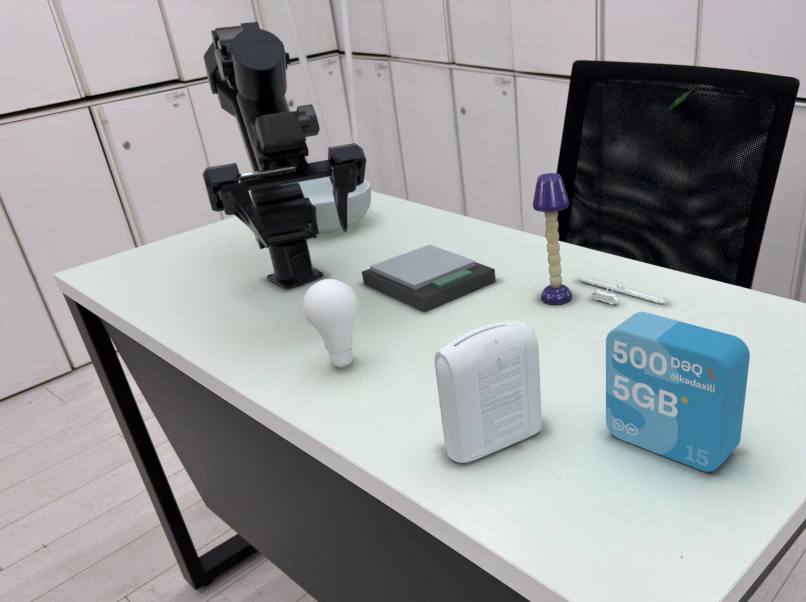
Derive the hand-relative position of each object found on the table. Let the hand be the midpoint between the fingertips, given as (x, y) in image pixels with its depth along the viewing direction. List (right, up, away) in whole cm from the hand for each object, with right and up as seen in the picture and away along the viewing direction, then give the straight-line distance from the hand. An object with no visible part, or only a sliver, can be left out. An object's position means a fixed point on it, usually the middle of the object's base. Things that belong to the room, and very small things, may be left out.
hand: (307, 238), depth 88 cm
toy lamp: (+30, -6, +14) cm, 33 cm away
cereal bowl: (-9, +11, +46) cm, 48 cm away
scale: (+12, -2, +21) cm, 24 cm away
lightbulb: (+4, -15, +1) cm, 16 cm away
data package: (+39, -23, -17) cm, 49 cm away
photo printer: (+23, -23, -14) cm, 35 cm away
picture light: (+38, -6, +13) cm, 40 cm away
